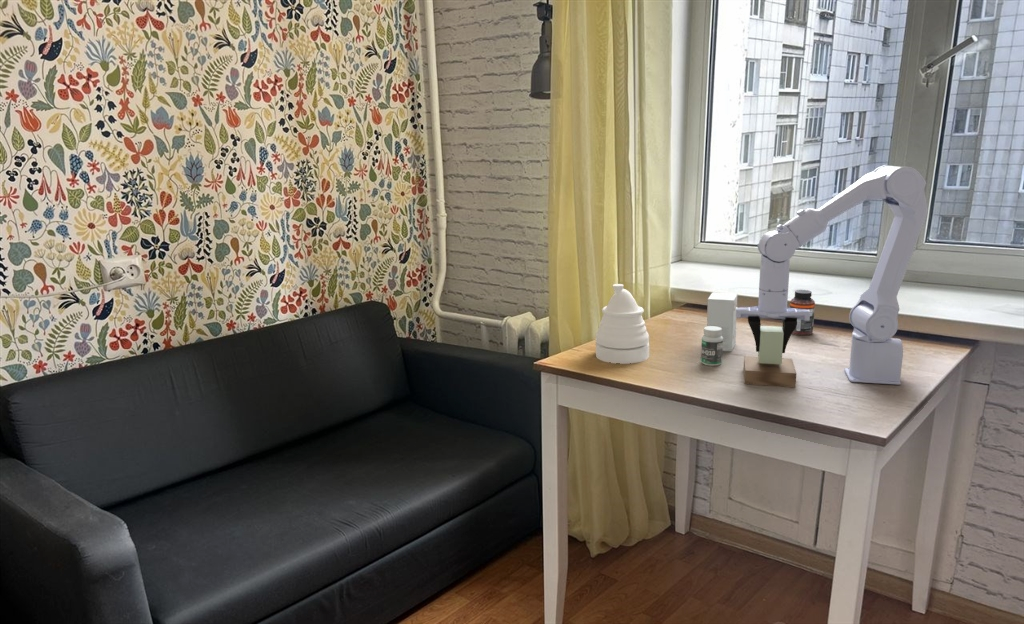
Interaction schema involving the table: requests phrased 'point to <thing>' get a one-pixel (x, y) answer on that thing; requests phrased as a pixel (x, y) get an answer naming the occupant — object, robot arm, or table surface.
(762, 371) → the walnut base
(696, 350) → the table surface
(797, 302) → the supplement bottle
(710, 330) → the pill bottle
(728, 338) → the small box
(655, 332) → the table surface
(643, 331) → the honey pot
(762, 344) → the sage block
